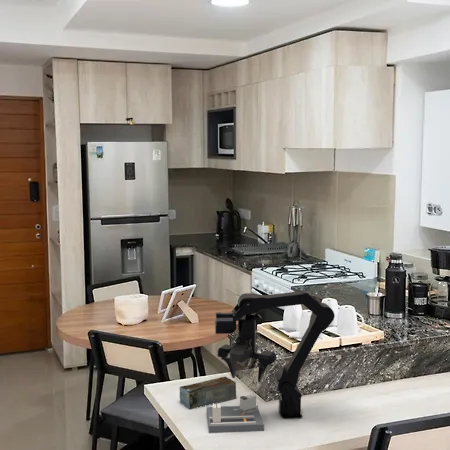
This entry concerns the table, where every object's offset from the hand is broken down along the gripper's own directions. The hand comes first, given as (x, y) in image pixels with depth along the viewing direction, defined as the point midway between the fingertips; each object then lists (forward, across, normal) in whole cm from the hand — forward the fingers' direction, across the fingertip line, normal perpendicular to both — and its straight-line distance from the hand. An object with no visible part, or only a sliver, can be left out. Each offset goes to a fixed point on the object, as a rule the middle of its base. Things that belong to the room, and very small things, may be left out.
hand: (246, 379), depth 204 cm
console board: (+12, -2, -6) cm, 14 cm away
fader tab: (+10, -4, -13) cm, 17 cm away
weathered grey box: (+13, -17, +6) cm, 22 cm away
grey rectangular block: (+10, 0, +1) cm, 10 cm away
